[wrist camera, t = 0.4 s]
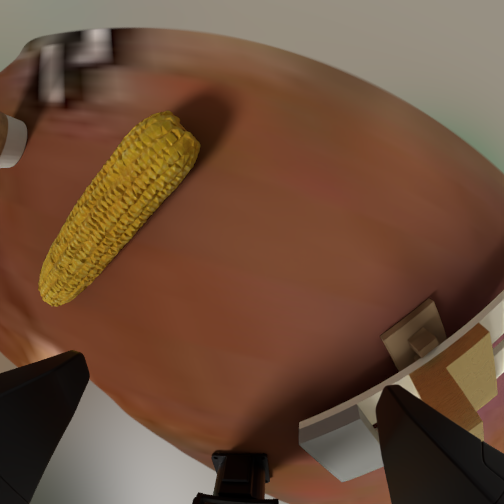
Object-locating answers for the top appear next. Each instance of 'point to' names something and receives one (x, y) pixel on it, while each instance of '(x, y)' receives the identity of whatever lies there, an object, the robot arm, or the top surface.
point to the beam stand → (414, 335)
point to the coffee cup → (11, 140)
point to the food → (117, 204)
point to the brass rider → (460, 379)
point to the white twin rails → (364, 409)
